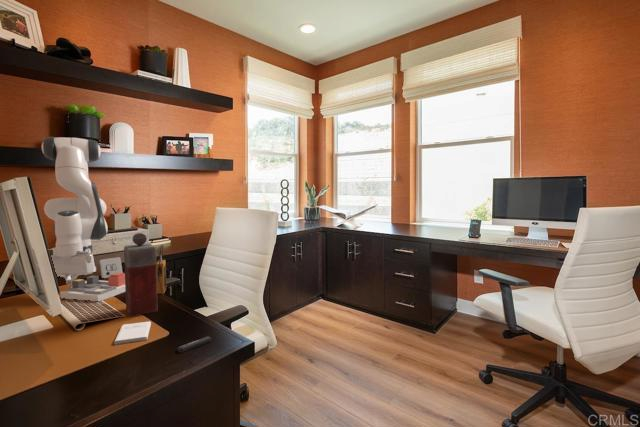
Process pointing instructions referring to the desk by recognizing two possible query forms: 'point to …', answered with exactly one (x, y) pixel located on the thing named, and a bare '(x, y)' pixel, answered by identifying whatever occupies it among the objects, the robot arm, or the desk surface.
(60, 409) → the desk surface
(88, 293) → the panel
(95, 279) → the plain toggle
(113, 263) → the electrical switch
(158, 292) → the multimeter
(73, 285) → the tagged toggle
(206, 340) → the usb stick
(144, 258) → the decanter
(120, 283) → the lockout cap
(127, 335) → the external hard drive
